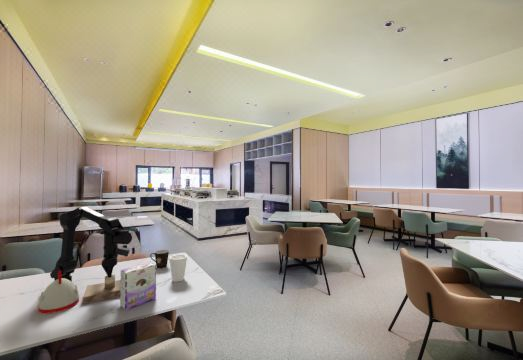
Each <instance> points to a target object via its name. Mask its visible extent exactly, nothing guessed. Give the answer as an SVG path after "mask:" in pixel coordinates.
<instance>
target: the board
mask: <svg viewBox="0 0 523 360" xmlns="http://www.w3.org/2000/svg"><path fill="white" fill-rule="evenodd" d="M120 286H121V279H119V280H118V279H117V280H115V287H114V288H109V289H106V288H105V282H101V283H95V284H89V285H86V289H85V291H84V294H83V297H82V304H90V303H93V302H98V301H104V300H109V299H113V298H119V297H120Z"/></svg>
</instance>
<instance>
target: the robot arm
mask: <svg viewBox="0 0 523 360" xmlns="http://www.w3.org/2000/svg"><path fill="white" fill-rule="evenodd" d="M82 218H85V219H87V220H89V221H92V222H93V223H95V224H98V227H99V228H100V229H102V231H101V232H100V233H99V235H103V247H102V248H103V249H102V250H103V257H102V258H103V259H102V261H101V268H102V269H103V270H104V272H105V273H106V276H108V278H110V277H111V276H112V275H113V270H114V267H115V266H117V265H118V258H119V257H118V256H124V257H128V256H129V254H130V251H131V250H130V248H129V247H128V245H129V244H131V242H132V240H133V236H132V235H133V234H132V233H130V231H129V229H125V228H124V227H123V225H122V223H121V222H120V219H119V218H118V217H115V216H110V215H109V216H108V215H104V214H102V213H99V212H98V211H96V210H93V209H91V208H89V207H88V206H82V207H81V206H80V207H77V208H75V209H72V210H70V211H68V212H64V213H62V214H60V215H59V225H60V226H61V228H62V229H63V230H62V240H61V241H62V242H61V243H62V244H61V250H60V251H61V253H60V257H59V258H58V260H57V261H56V263H55V267H54V269H53V270H52V271H51V272H49V273H50V274H49V276H50V278H52V279H53V281H55V280H57V279H58V273H59V271H61V278H64V279H68V280H70V281H71V282H72V283H73V276H72V275H71V274H74V272H75V270H76V269H77V266H78V258H75V256H74V247H75V239H76V238H75V237H76V229H77V227H78V226H79V225H80V222H81V219H82ZM119 245H122V246H119Z"/></svg>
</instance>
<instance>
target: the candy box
mask: <svg viewBox="0 0 523 360" xmlns="http://www.w3.org/2000/svg"><path fill="white" fill-rule="evenodd" d="M156 275H157V268H156V263H153V262H147V263H142V264H140V265H139V264H138V265H136V266H132V267H128V268H125V269H124V268H123V269H120V280H121V286H120V296H119V297H120V299H119V301H120V302H119V305H120V307H121V308H122V310H124V311H127V310H130V309H133V308H136V307H139V306H140V305H143V304H145V303H147V302H151V301H153V300H156V299H157V288H156V287H157V283H156V282H157V276H156Z"/></svg>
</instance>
